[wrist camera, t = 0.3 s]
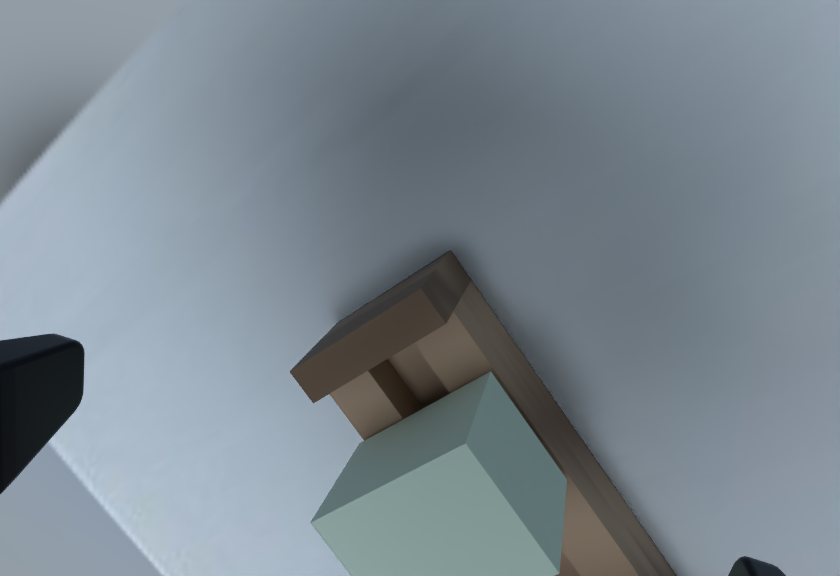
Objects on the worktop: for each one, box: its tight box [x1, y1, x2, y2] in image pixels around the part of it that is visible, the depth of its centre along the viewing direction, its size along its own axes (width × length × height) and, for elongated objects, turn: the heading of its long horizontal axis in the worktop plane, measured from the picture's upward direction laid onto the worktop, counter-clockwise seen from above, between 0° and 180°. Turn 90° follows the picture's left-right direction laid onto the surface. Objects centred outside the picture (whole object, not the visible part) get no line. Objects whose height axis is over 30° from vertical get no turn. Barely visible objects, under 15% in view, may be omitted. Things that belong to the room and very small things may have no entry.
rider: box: [310, 371, 567, 576], centre depth 20 cm, size 4×5×6 cm
